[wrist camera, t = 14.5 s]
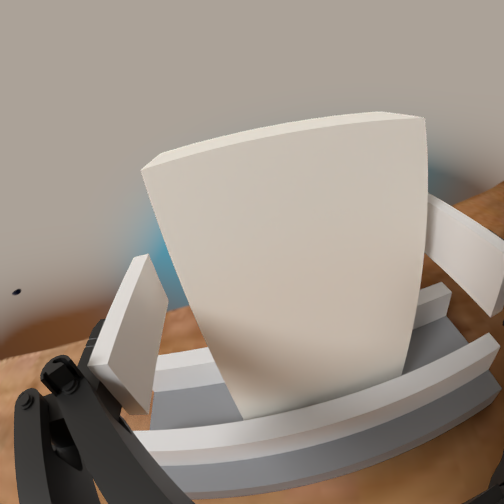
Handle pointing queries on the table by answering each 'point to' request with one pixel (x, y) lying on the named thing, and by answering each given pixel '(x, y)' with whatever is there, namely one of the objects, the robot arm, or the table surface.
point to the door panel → (299, 252)
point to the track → (315, 415)
